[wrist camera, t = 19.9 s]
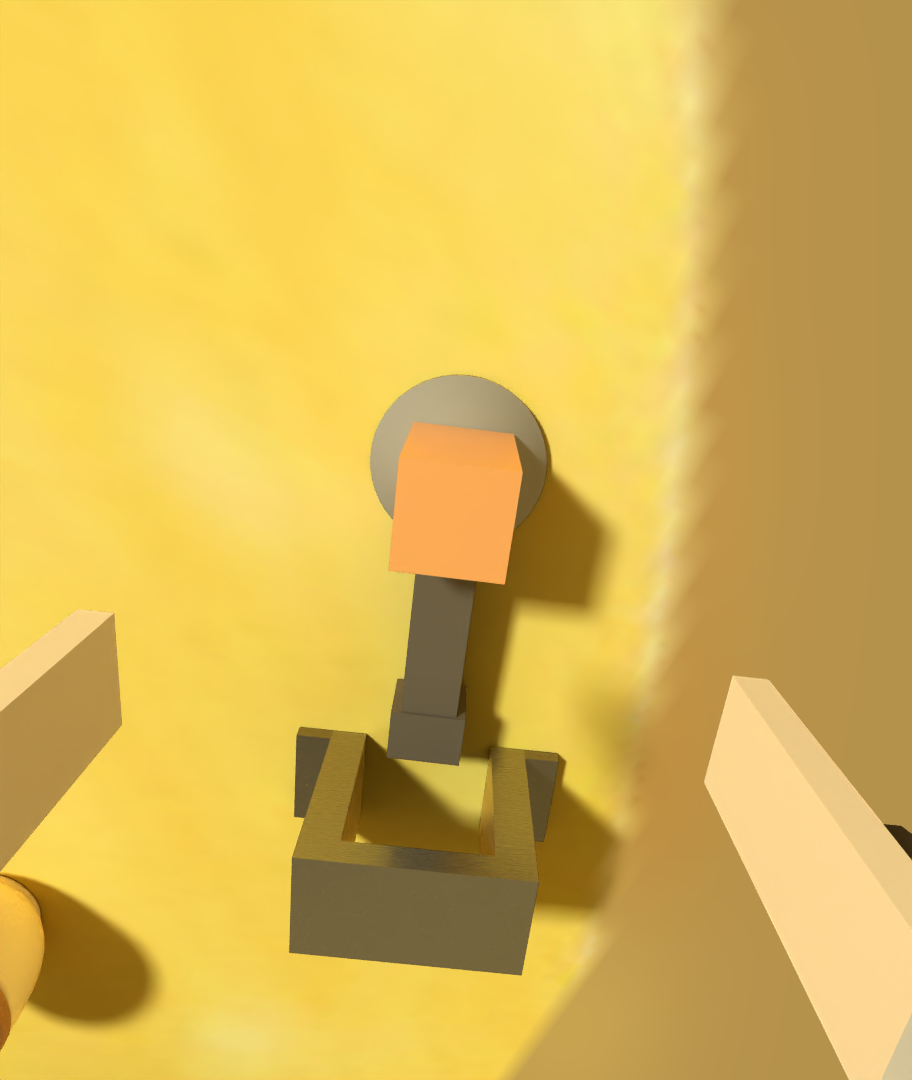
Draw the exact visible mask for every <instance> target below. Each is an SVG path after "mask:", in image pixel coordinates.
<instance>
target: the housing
mask: <svg viewBox="0 0 912 1080" xmlns="http://www.w3.org/2000/svg"><path fill="white" fill-rule="evenodd" d="M365 748H366V734H363V733H353V732H344V731H334V730H324V729H314V728H304V727H300V728H299V731H298V733H297V740H296V774H295V808H294V817H301V818H305V819H304V822H303V825H302V828H301V831H300V835H299V838H298V841H297V844H296V847H295V850H294V853H293V856H292V876H291V911H290V946H289V953H298V954H309V955H319V956H329V957H339V958H349V959H360V960H370V961H380V962H390V963H400V964H411V965H421V966H431V967H441V968H451V969H462V970H472V971H482V972H492V973H502V974H513V975H522V970H523V965H524V959H525V954H526V949H527V943H528V938H529V933H530V928H531V922H532V917H533V912H534V906H535V901H536V896H537V890H538V885H539V878H538V869H537V860H536V851H535V842H534V841H540V842H544V838H545V832H546V827H547V822H548V816H549V811H550V806H551V800H552V795H553V790H554V784H555V779H556V774H557V768H558V763H559V761H558V756H557V753H549V752H539V751H529V750H520V749H510V748H500V747H491V750H490V757H489V764H488V770H487V777H486V784H485V791H484V798H483V805H482V812H481V819H480V826H479V830H480V855H478V854H468V853H458V852H448V851H438V850H428V849H418V848H408V847H398V846H388V845H378V844H368V843H358V842H355V839H356V834H357V830H358V825H359V820H360V816H361V805H362V791H363V777H364V762H365Z"/></svg>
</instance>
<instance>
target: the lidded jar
mask: <svg viewBox="0 0 912 1080" xmlns="http://www.w3.org/2000/svg"><path fill="white" fill-rule="evenodd" d="M43 956H44V931H43V926H42V922H41V911H40V907H39V905H38V902H37V901H36V899H35V897H34V896H33V895H32V894H31V893H30V891H28V890H27V889H26V888H25V887H24V886H22V885H21V884H20V883H18V882H16V881H14V880H13V879H10V878H8V877H5V876H2V875H0V1050H1V1049H2V1047H3V1046H4V1044H5V1042H6V1040H7V1038H8V1035H9V1033H10V1031H11V1029H12V1028H13V1026H14V1025H15V1023H16V1021H17V1019H18V1018H19V1016H20V1014H21V1013H22V1011H23V1009H24V1007H25V1005H26V1003H27V1001H28V999H29V997H30V995H31V993H32V991H33V989H34V987H35V984H36V981H37V979H38V976H39V973H40V970H41V966H42V961H43Z"/></svg>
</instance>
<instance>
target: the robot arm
mask: <svg viewBox="0 0 912 1080" xmlns="http://www.w3.org/2000/svg"><path fill="white" fill-rule="evenodd" d="M121 725H122V718H121V704H120V690H119V675H118V661H117V647H116V633H115V619H114V613H109V612H100V611H90V610H80V609H77V610H76V611H75V612H73V613H72V614H71V615H69V616H68V617H67V618H66V619H64V620H63V621H62V622H60V623H59V624H58V625H57V626H55V627H54V628H53V629H51V630H50V631H49V632H48V633H46V634H45V635H44V636H42V637H41V638H40V639H39V640H37V641H36V642H35V643H33V644H32V645H31V646H30V647H28V648H27V649H26V650H24V651H23V652H22V653H21V654H19V655H18V656H17V657H15V658H14V659H13V660H12V661H10V662H9V663H8V664H6V665H5V666H4V667H3V668H1V669H0V871H1V870H2V869H3V868H4V867H5V865H6V864H7V863H8V862H9V860H10V859H11V858H12V857H13V856H14V854H15V853H16V852H17V851H18V850H19V848H20V847H21V846H22V845H23V844H24V842H25V841H26V840H27V839H28V838H29V836H30V835H31V834H32V833H33V831H34V830H35V829H36V828H37V827H38V825H39V824H40V823H41V822H42V821H43V819H44V818H45V817H46V816H47V815H48V813H49V812H50V811H51V810H52V809H53V807H54V806H55V805H56V804H57V802H58V801H59V800H60V799H61V798H62V796H63V795H64V794H65V793H66V792H67V790H68V789H69V788H70V787H71V786H72V784H73V783H74V782H75V781H76V780H77V778H78V777H79V776H80V775H81V773H82V772H83V771H84V770H85V769H86V767H87V766H88V765H89V764H90V763H91V761H92V760H93V759H94V758H95V757H96V755H97V754H98V753H99V752H100V751H101V749H102V748H103V747H104V746H105V744H106V743H107V742H108V741H109V740H110V738H111V737H112V736H113V735H114V734H115V732H116V731H117V730H118V729H119V728H120V726H121ZM704 784H705V786H706V787H707V790H708V792H709V794H710V796H711V798H712V800H713V802H714V804H715V806H716V808H717V810H718V812H719V814H720V816H721V818H722V821H723V823H724V824H725V826H726V829H727V831H728V833H729V835H730V837H731V839H732V841H733V843H734V845H735V847H736V849H737V851H738V853H739V855H740V857H741V859H742V862H743V863H744V865H745V867H746V870H747V872H748V874H749V876H750V878H751V880H752V882H753V884H754V886H755V888H756V890H757V892H758V894H759V896H760V898H761V900H762V902H763V905H764V906H765V908H766V910H767V912H768V915H769V917H770V919H771V921H772V923H773V925H774V927H775V929H776V931H777V933H778V935H779V937H780V939H781V941H782V943H783V945H784V948H785V950H786V951H787V954H788V956H789V958H790V960H791V962H792V964H793V966H794V968H795V970H796V972H797V974H798V976H799V978H800V980H801V982H802V984H803V986H804V989H805V990H806V992H807V995H808V997H809V999H810V1001H811V1003H812V1005H813V1007H814V1009H815V1011H816V1013H817V1015H818V1017H819V1019H820V1021H821V1023H822V1025H823V1027H824V1030H825V1031H826V1033H827V1036H828V1038H829V1040H830V1042H831V1044H832V1046H833V1048H834V1050H835V1052H836V1054H837V1056H838V1058H839V1060H840V1062H841V1064H842V1066H843V1068H844V1070H845V1073H846V1074H847V1077H848V1079H849V1080H912V834H911V833H910V832H908V831H907V830H906V829H905V828H903V827H902V826H897V825H886V824H883V823H882V822H881V821H880V820H879V818H878V817H877V816H876V815H875V813H874V812H873V811H872V809H871V808H870V807H869V806H868V805H867V803H866V802H865V801H864V799H863V798H862V797H861V796H860V794H859V793H858V792H857V791H856V789H855V788H854V787H853V786H852V784H851V783H850V782H849V780H848V779H847V778H846V777H845V775H844V774H843V773H842V772H841V770H840V769H839V768H838V767H837V765H836V764H835V763H834V762H833V760H832V759H831V758H830V757H829V755H828V754H827V753H826V751H825V750H824V749H823V748H822V747H821V745H820V744H819V743H818V742H817V740H816V739H815V738H814V736H813V735H812V734H811V733H810V731H809V730H808V729H807V728H806V726H805V725H804V724H803V723H802V721H801V720H800V719H799V718H798V716H797V715H796V714H795V712H794V711H793V710H792V709H791V707H790V706H789V705H788V704H787V702H786V701H785V700H784V699H783V697H782V696H781V695H780V694H779V692H778V691H777V690H776V688H775V687H774V686H773V685H772V683H771V682H770V681H769V680H768V679H759V678H749V677H739V676H733V677H732V680H731V684H730V688H729V692H728V695H727V699H726V703H725V707H724V710H723V714H722V717H721V721H720V725H719V728H718V732H717V736H716V739H715V743H714V747H713V750H712V754H711V758H710V761H709V765H708V769H707V772H706V776H705V780H704Z"/></svg>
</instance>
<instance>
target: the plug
mask: <svg viewBox="0 0 912 1080" xmlns="http://www.w3.org/2000/svg"><path fill="white" fill-rule="evenodd" d="M522 474H523V471H522V467H521V463H520V459H519V454H518V450H517V446H516V441H515V437H514V434H510V433H502V432H494V431H486V430H478V429H470V428H462V427H454V426H446V425H438V424H430V423H422V422H413V425H412V427H411V430H410V432H409V434H408V437H407V439H406V442H405V444H404V446H403V449H402V451H401V454H400V456H399V462H398V473H397V484H396V495H395V506H394V517H393V528H392V539H391V550H390V561H389V571H396V572H405V573H413V574H415V583H414V593H413V602H412V611H411V621H410V630H409V639H408V649H407V658H406V668H405V677H404V679H397V684H396V690H395V695H394V700H393V705H392V710H391V719H390V729H389V738H388V748H387V758H396V759H404V760H413V761H422V762H430V763H439V764H448V765H456V766H459V761H460V754H461V748H462V741H463V734H464V728H465V721H466V687H463V686H461V682H462V675H463V668H464V661H465V654H466V647H467V640H468V633H469V626H470V619H471V612H472V605H473V598H474V591H475V584H476V581H480V582H488V583H496V584H505V580H506V573H507V567H508V561H509V555H510V549H511V542H512V536H513V530H514V524H515V518H516V512H517V505H518V499H519V493H520V487H521V481H522Z"/></svg>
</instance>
